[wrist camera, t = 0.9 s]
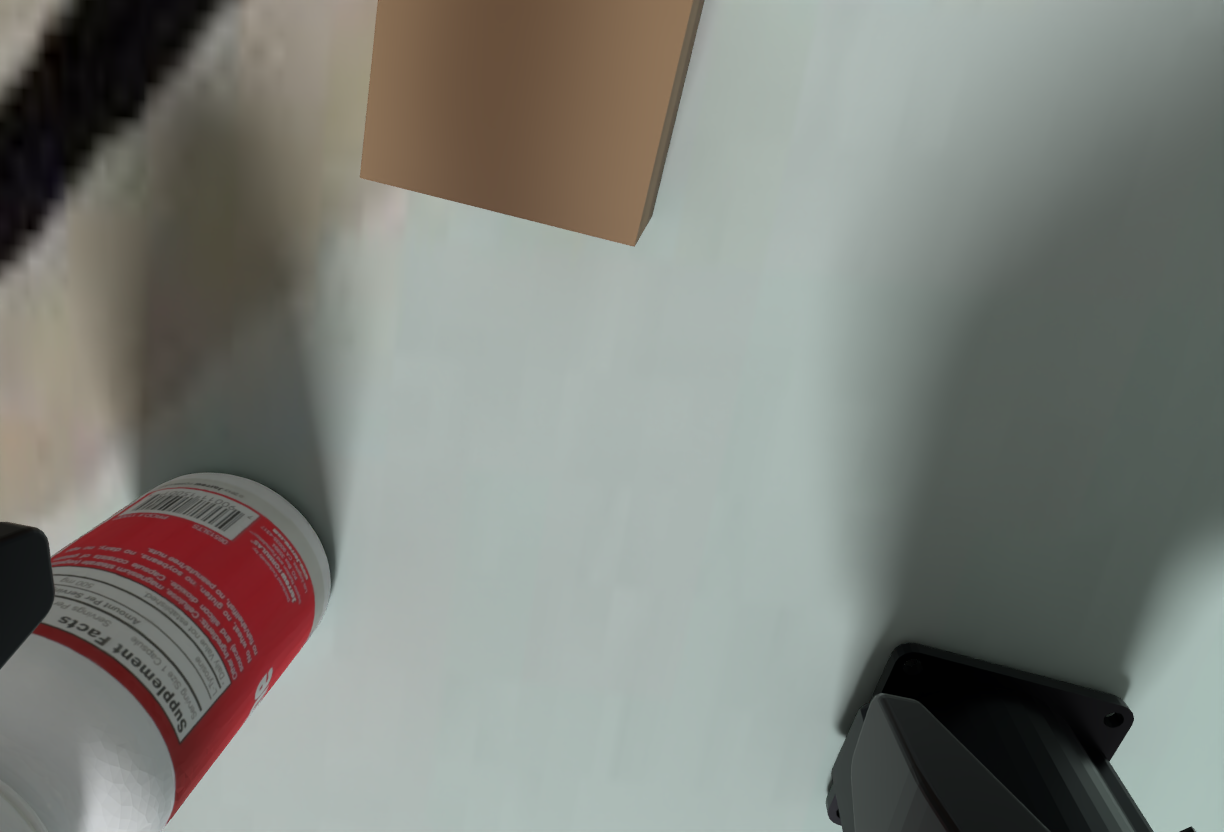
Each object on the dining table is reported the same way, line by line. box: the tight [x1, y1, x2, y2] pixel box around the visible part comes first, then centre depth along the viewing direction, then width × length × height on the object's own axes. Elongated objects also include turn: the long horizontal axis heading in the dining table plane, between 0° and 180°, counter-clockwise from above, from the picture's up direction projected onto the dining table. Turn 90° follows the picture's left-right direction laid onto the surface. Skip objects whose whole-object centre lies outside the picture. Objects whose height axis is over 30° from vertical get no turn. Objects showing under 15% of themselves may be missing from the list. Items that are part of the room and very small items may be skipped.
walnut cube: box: [360, 0, 704, 247], centre depth 15 cm, size 5×5×5 cm
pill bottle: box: [0, 472, 331, 832], centre depth 18 cm, size 6×6×11 cm
